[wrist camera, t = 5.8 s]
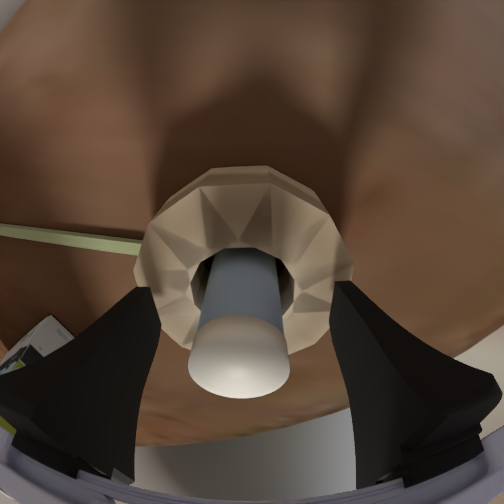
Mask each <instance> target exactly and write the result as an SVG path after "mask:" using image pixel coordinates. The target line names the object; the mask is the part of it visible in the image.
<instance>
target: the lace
mask: <svg viewBox="0 0 504 504" xmlns="http://www.w3.org/2000/svg"><path fill="white" fill-rule="evenodd" d="M0 235H2V236H8V237H14V238H20V239H27V240H33V241H40V242H46V243H53V244H60V245H66V246H73V247H80V248H87V249H94V250H101V251H108V252H115V253H123V254H130V255H138V254H139V251H140V247H141V244H142V241H143V240H136V239H128V238H120V237H111V236H103V235H94V234H86V233H77V232H69V231H61V230H52V229H44V228H35V227H27V226H19V225H10V224H2V223H0Z"/></svg>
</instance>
